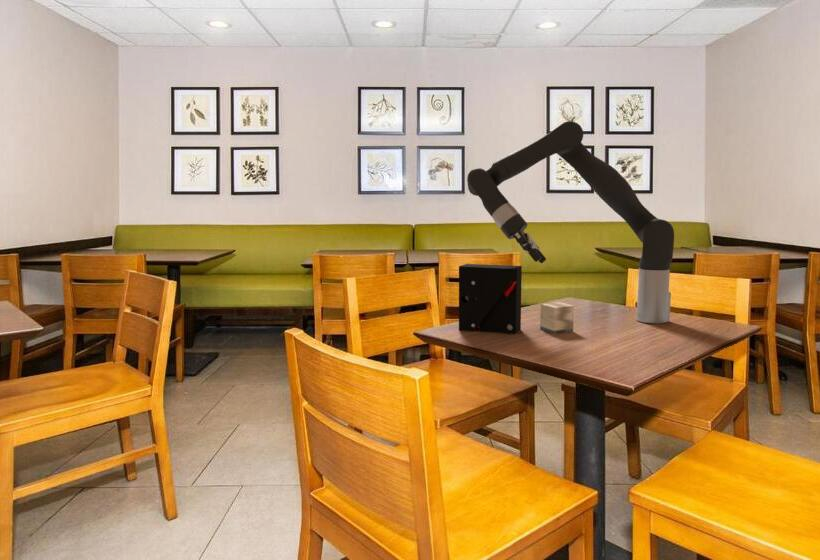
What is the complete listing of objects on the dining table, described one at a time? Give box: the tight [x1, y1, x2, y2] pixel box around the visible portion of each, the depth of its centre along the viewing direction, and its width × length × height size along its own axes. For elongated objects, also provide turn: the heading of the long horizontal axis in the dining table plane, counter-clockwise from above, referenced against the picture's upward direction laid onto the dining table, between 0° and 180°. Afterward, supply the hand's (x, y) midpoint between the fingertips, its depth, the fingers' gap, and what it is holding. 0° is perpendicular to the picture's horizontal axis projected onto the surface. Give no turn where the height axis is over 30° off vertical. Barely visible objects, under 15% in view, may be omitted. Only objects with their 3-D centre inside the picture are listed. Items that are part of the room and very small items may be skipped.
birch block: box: [539, 301, 575, 335], centre depth 169 cm, size 7×7×8 cm
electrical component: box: [458, 263, 523, 335], centre depth 170 cm, size 18×10×20 cm, turn 65°
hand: (541, 260), depth 169 cm, fingers open, 8 cm apart
